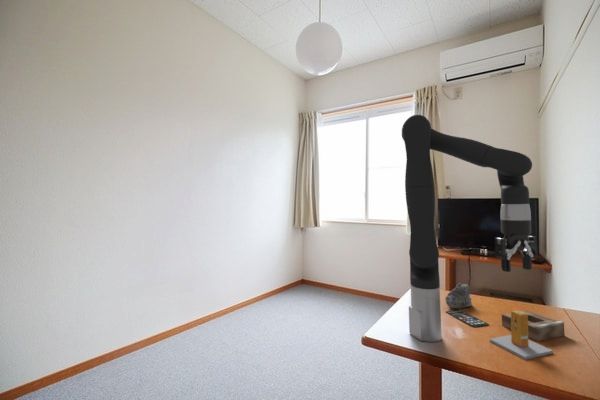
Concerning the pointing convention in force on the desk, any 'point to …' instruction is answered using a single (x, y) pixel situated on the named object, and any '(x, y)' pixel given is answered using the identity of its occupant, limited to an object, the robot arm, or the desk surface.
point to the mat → (521, 348)
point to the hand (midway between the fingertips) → (516, 270)
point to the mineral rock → (459, 296)
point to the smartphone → (467, 318)
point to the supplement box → (519, 328)
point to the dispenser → (538, 326)
